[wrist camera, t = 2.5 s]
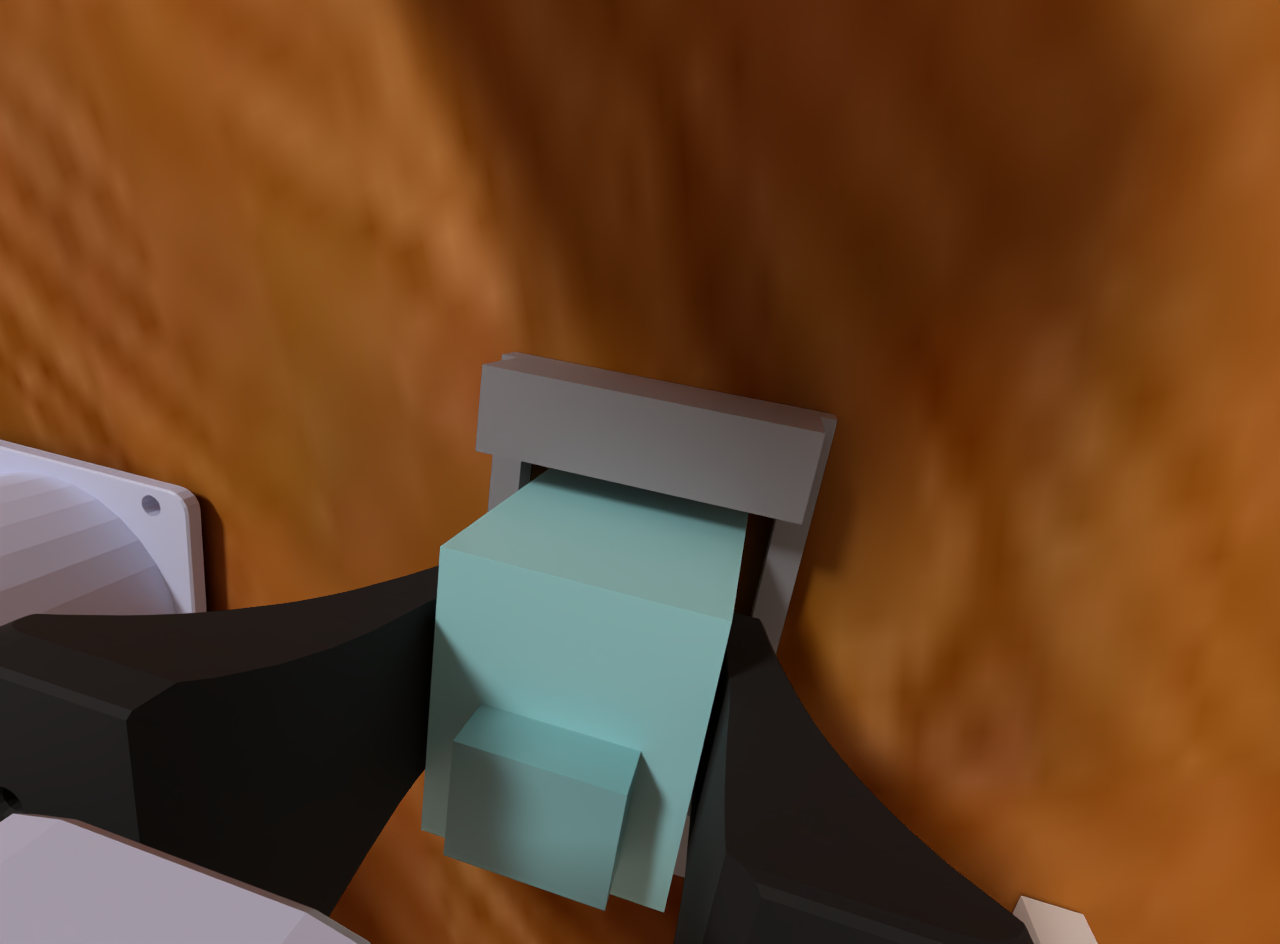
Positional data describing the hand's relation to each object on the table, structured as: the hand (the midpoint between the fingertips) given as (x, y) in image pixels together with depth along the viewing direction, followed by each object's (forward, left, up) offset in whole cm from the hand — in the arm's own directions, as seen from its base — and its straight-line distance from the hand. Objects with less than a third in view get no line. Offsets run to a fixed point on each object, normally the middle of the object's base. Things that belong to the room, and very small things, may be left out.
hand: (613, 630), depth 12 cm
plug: (0, 0, -1) cm, 1 cm away
